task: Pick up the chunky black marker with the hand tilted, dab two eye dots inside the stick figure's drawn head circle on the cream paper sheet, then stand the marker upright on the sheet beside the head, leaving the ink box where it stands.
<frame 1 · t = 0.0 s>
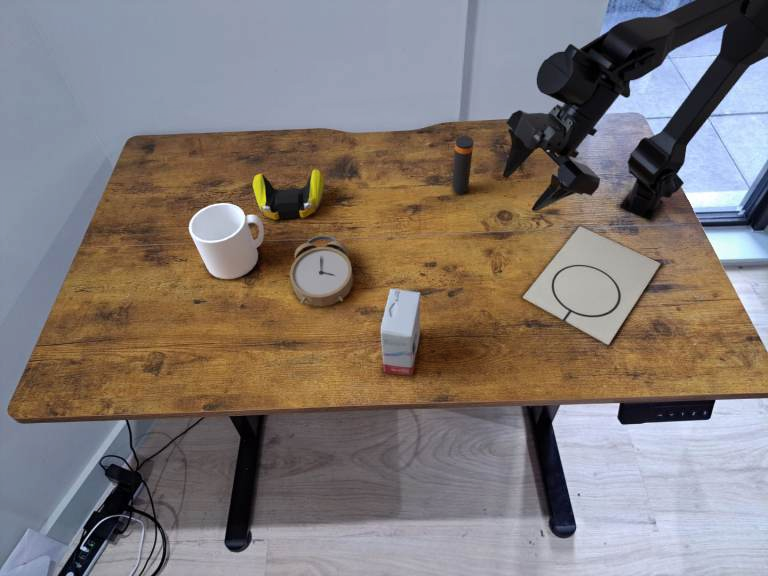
hand: (518, 193, 86), 15 cm above the table, tool tilted 35°, fingers open, 9 cm apart
alarm clock: (323, 276, 96), on the table
gaming controller: (291, 205, 108), on the table
marker: (459, 190, 109), on the table
paper sheet: (592, 281, 92), on the table
ink box: (402, 352, 85), on the table
mug: (239, 259, 99), on the table
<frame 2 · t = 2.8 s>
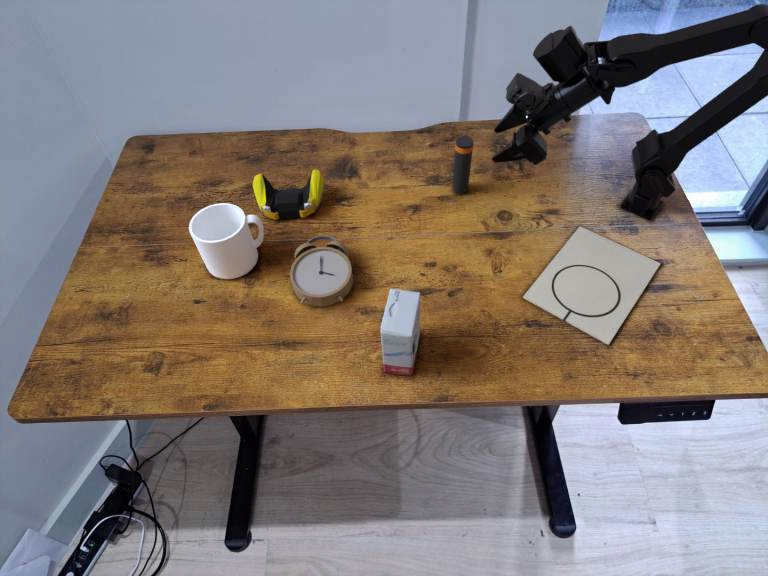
hand: (494, 145, 99), 12 cm above the table, tool tilted 45°, fingers open, 9 cm apart
nothing on the table moved.
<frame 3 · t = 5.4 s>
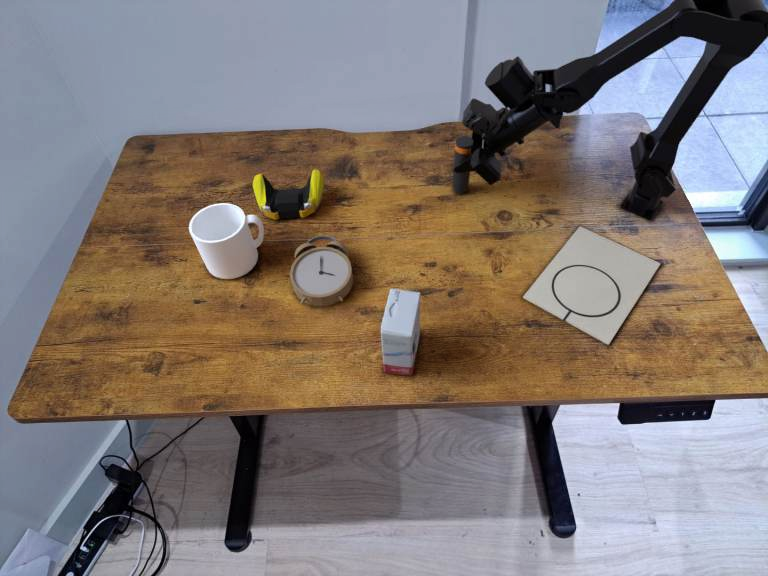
hand: (455, 165, 104), 7 cm above the table, tool tilted 45°, fingers closed on marker, 3 cm apart
marker: (459, 190, 109), on the table, touching gripper
everything else where it was.
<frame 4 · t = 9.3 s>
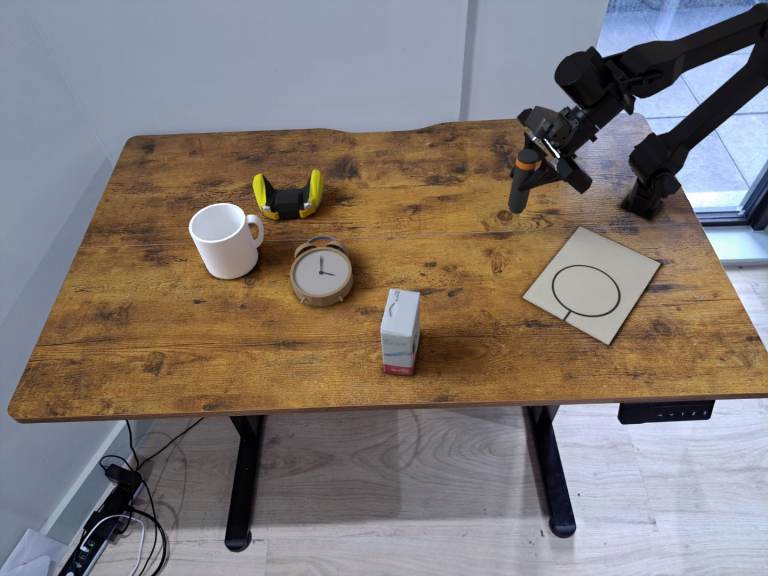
hand: (514, 183, 91), 13 cm above the table, tool tilted 45°, fingers closed on marker, 3 cm apart
marker: (516, 209, 96), point 6 cm above the table, touching gripper
everything else where it was.
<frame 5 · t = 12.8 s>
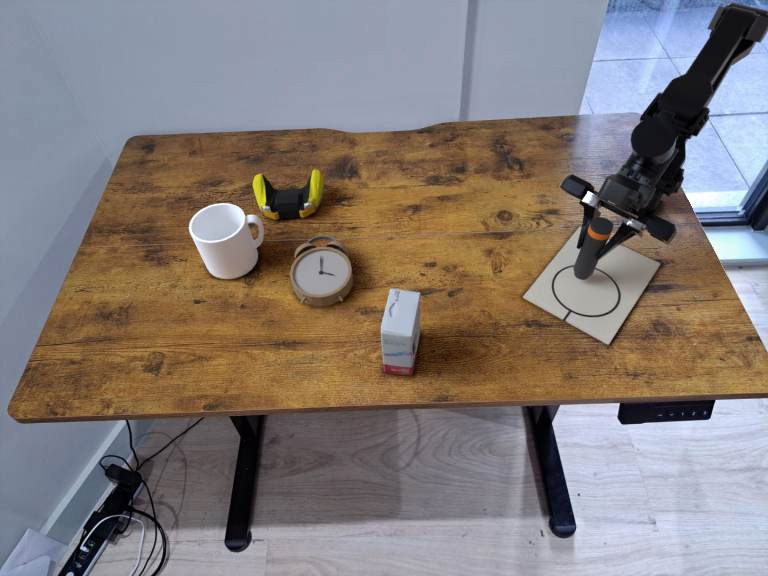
hand: (587, 254, 85), 8 cm above the table, tool tilted 45°, fingers closed on marker, 3 cm apart
marker: (581, 274, 91), point 2 cm above the table, touching gripper
everything else where it was.
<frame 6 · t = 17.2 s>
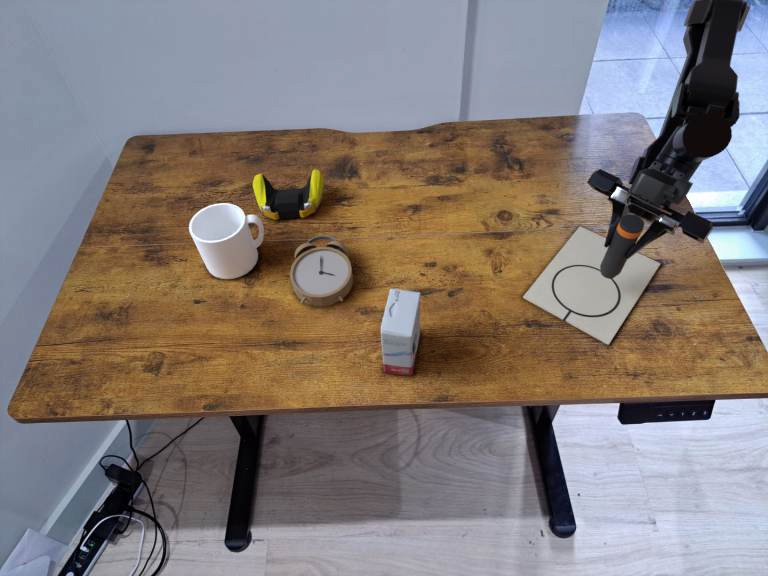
hand: (615, 252, 81), 12 cm above the table, tool tilted 45°, fingers closed on marker, 3 cm apart
marker: (608, 272, 87), point 5 cm above the table, touching gripper
everything else where it was.
when the fingers open (7 cm above the table, at t = 20.6 s): marker stays where it is, resting on paper sheet.
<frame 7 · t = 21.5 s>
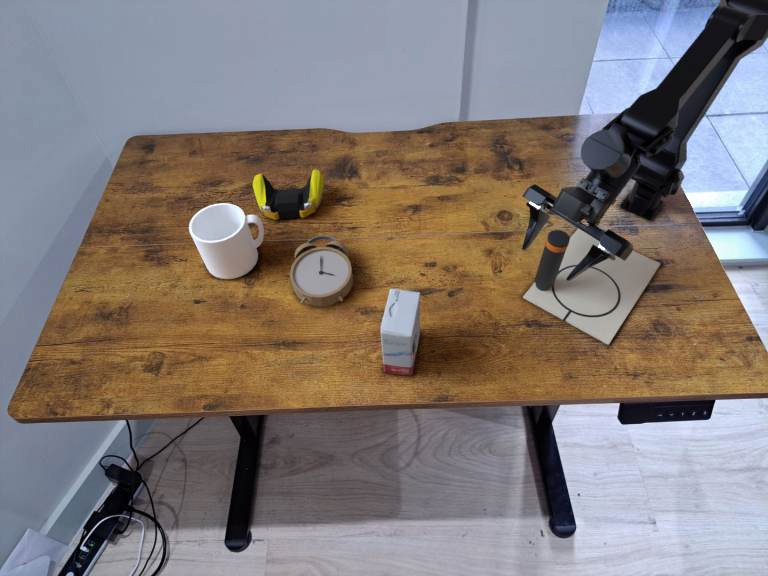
hand: (545, 264, 85), 8 cm above the table, tool tilted 45°, fingers open, 9 cm apart
marker: (543, 285, 92), resting on paper sheet
everything else where it was.
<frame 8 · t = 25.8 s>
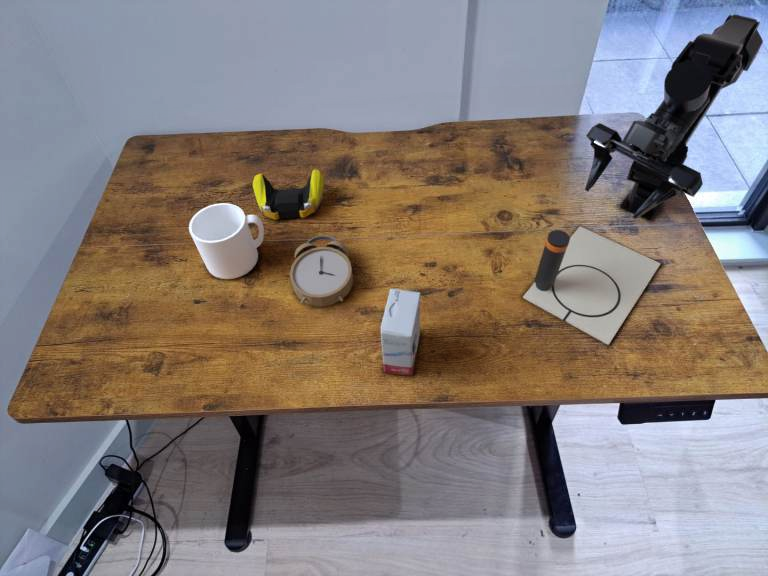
hand: (609, 204, 85), 14 cm above the table, tool tilted 45°, fingers open, 9 cm apart
nothing on the table moved.
at the end: marker 1.2 cm from the target spot on the paper sheet, point 0.4 cm above the paper sheet's base; marker tilted 0°; ink box moved 0.2 cm from its start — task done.
